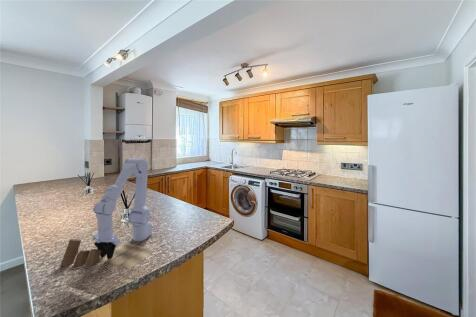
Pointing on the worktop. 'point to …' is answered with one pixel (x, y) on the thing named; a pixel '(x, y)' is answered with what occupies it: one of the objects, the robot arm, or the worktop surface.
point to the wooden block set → (79, 255)
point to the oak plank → (118, 252)
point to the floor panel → (133, 260)
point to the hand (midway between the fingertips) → (106, 257)
